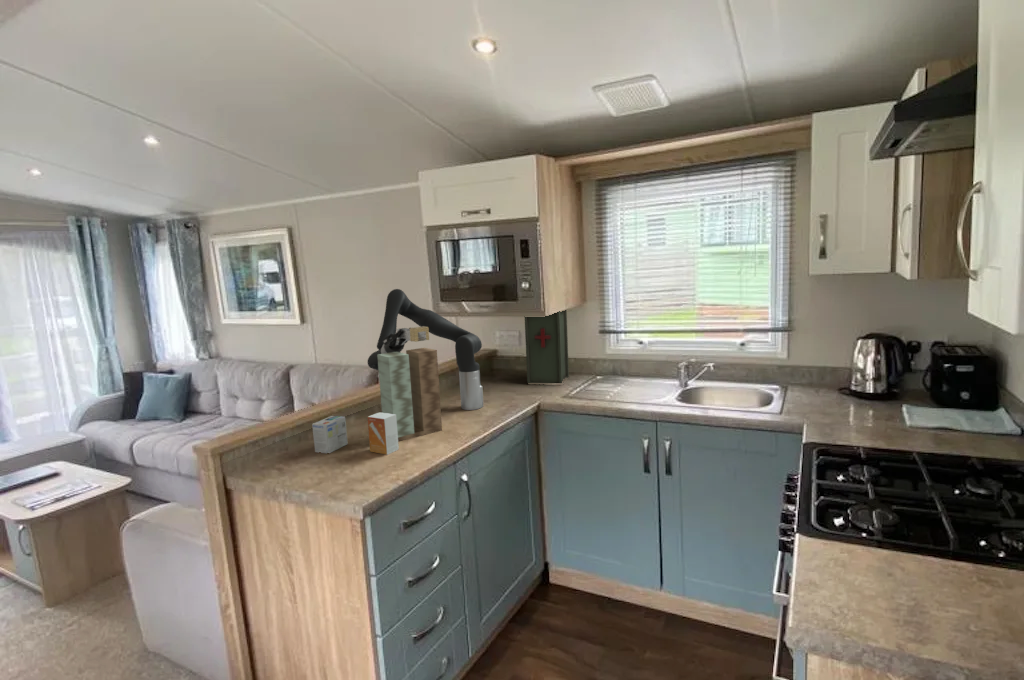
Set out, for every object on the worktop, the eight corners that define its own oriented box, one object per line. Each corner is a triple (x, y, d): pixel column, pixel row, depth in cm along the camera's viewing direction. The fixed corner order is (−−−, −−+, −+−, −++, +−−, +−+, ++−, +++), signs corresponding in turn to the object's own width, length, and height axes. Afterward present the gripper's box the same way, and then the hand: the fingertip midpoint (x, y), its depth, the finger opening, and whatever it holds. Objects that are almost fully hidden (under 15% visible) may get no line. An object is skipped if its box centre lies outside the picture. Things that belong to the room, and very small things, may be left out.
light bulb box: (334, 442, 203) (331, 415, 201) (348, 444, 200) (346, 416, 199) (314, 452, 193) (311, 423, 191) (329, 454, 190) (326, 424, 189)
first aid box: (568, 378, 296) (566, 305, 291) (561, 385, 279) (559, 308, 273) (536, 377, 302) (533, 306, 296) (527, 384, 284) (524, 309, 279)
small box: (369, 452, 190) (366, 416, 188) (382, 446, 196) (379, 411, 194) (387, 455, 186) (384, 418, 184) (399, 449, 192) (396, 414, 190)
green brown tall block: (429, 425, 220) (424, 347, 215) (442, 430, 212) (436, 350, 207) (383, 436, 208) (377, 354, 203) (395, 442, 200) (388, 357, 195)
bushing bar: (407, 336, 223) (407, 324, 222) (429, 339, 209) (428, 327, 208) (394, 337, 220) (393, 325, 219) (415, 341, 205) (414, 328, 205)
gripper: (374, 341, 226) (388, 323, 213) (404, 337, 235) (419, 320, 222) (379, 358, 224) (393, 340, 211) (409, 353, 233) (425, 336, 220)
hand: (406, 330), depth 217 cm, fingers closed on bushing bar, 3 cm apart
